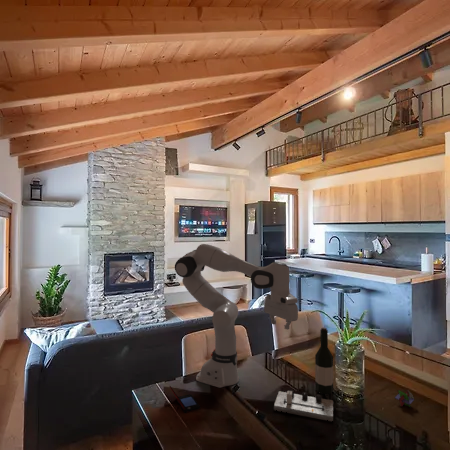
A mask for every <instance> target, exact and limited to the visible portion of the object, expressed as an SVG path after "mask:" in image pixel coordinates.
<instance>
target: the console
mask: <svg viewBox="0 0 450 450" xmlns="http://www.w3.org/2000/svg"><path fill="white" fill-rule="evenodd" d="M288 391H292V404H288V403H287V391H285V392H284V391H278V392H277V393H278V394H277V395H276V399H275V401H274V405H273V411H276V410H277V411H278V412H281V411H282V413H286V412H287V414H293V415H298V416H301V417H308V418H313V419H318V420H323V421H327V420H328V421H327V422H332V421H333V422H334V400H332V399H328V398H327V399H326V398H322V397H323V396H322V394H320V393H318V394H315V397H314V396H308V394H309V393H308V392H307V391H302V392H301V394H298V393H295V390H293V389H289V390H288Z"/></svg>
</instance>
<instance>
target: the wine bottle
mask: <svg viewBox="0 0 450 450" xmlns="http://www.w3.org/2000/svg"><path fill="white" fill-rule="evenodd" d="M319 333H320V340H319V343H320V347H319V349H318V350H317V351H316V353H315V356H314V357H315V358H314V359H315V360H314V365H315V367H314V369H315V370H314V371H315V372H314V373H315V375H314V376H315V383H314V384H315V389H316V390H317V391H318V392H320V393H319V394H321V393H323V394H322V395H324V394H328V395H332V394H333V393H334V355H333V354H332V352H331V351H330V349H329V344H328V341H329V340H328V333H329V331H328V329H327V327H321V329H320V332H319ZM317 391H316V392H317ZM318 392H317V393H318ZM332 392H333V393H332ZM331 393H332V394H331Z"/></svg>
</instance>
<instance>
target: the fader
mask: <svg viewBox="0 0 450 450" xmlns="http://www.w3.org/2000/svg"><path fill="white" fill-rule="evenodd" d="M286 392H287V403H288V404H292V391H289V390H287V391H286Z"/></svg>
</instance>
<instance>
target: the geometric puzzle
mask: <svg viewBox="0 0 450 450" xmlns="http://www.w3.org/2000/svg"><path fill="white" fill-rule="evenodd" d="M397 393H398V394H397ZM397 393H396V394H397V395H395V396H394V399H395V400H396V401H397V402H399V406H400V408H405V406H406V407H408V408H412V406H411V404H413V402H414V401H415V400H416V399H415V397H414V395H413V394H412V393H411V392H410V391H409V389H406V390H405V392H404V391H403V390H399V389H397ZM403 405H405V406H403Z"/></svg>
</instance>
